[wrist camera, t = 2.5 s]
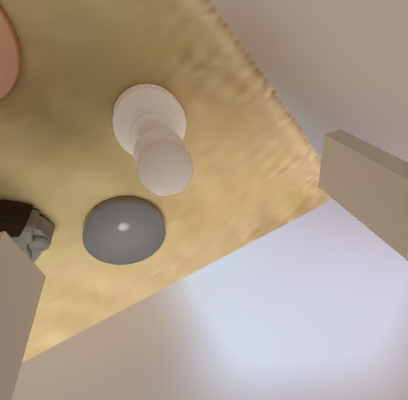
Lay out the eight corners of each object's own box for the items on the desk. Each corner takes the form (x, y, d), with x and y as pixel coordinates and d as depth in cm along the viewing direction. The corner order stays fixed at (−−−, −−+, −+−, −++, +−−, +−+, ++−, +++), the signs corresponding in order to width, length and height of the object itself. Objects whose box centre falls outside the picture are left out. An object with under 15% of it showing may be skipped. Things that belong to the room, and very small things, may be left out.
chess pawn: (137, 162, 21) (151, 239, 14) (96, 105, 17) (86, 166, 10) (192, 131, 20) (235, 192, 13) (161, 68, 17) (194, 105, 10)
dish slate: (68, 211, 21) (66, 220, 20) (150, 186, 22) (152, 193, 21) (103, 264, 26) (103, 273, 25) (171, 241, 26) (173, 249, 25)
